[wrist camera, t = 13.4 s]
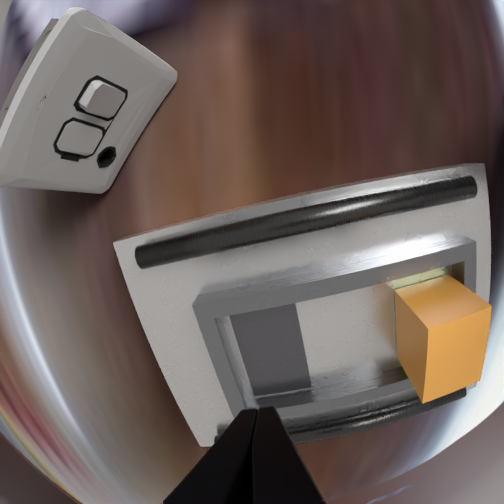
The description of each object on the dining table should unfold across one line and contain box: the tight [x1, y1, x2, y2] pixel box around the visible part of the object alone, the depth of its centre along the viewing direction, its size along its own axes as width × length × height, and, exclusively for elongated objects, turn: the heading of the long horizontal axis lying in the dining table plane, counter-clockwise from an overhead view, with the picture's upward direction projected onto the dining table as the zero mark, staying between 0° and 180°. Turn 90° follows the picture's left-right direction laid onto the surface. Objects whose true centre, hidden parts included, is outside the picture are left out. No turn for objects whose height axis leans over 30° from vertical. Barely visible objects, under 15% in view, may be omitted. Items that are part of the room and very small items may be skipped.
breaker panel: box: [113, 163, 491, 447], centre depth 19 cm, size 24×18×4 cm
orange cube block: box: [394, 275, 492, 404], centre depth 15 cm, size 4×5×5 cm
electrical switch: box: [0, 7, 177, 194], centre depth 13 cm, size 9×5×9 cm, turn 144°
